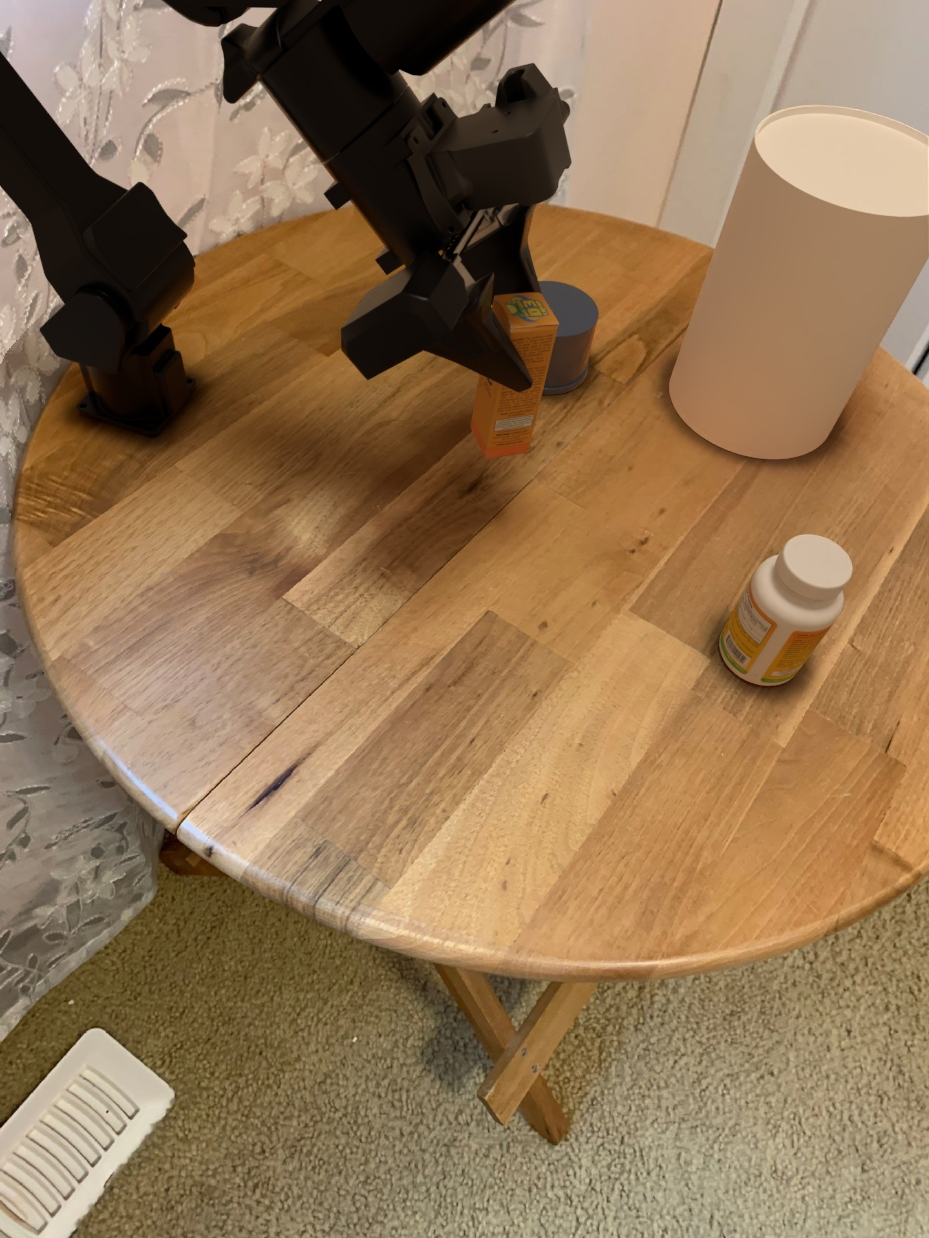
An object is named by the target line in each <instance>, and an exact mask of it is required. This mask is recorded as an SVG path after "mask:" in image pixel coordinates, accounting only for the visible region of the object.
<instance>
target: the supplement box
mask: <svg viewBox="0 0 929 1238" xmlns="http://www.w3.org/2000/svg"><path fill="white" fill-rule="evenodd" d="M491 307H492V310H493V312H494V313H495V315H496V317H497V318H498V320H499V322H500V323H501V325H502V327H503V328H504V330H505V332H506V333H507V335H508V336H509V338H510V340H511V341H512V343H513V345H514V346H515V348H516V350H517V351H518V353H519V355H520V356H521V358H522V360H523V362H524V363H525V365H526V367H527V369H528V371H529V373H530V375H531V377H532V379H533V385H532V387H531V388H529V389H527V390H525V391H523V392H516V391H514V390H512V389H510V388H508V387H505V386H503V385H501V384H499V383H497V382H495V381H493V380H491V379H489V378H487V377H485V376H483V375H481V374H479V376H478V379H477V386H476V392H475V397H474V403H473V410H472V414H471V420H470V430H471V431H472V433H473V435H474V438H475V440H476V442H477V444H478V446H479V448H480V451H481V453H482V455H483V457H484V458H485V460H491V459H498V458H505V457H510V456H511V457H512V456H517V455H523V454H527V453H529V451H530V446H531V441H532V438H533V433H534V429H535V425H536V421H537V418H538V417H537V416H538V414H539V409H540V404H541V400H542V396H543V394H542V392H543V388H544V384H545V380H546V376H547V372H548V368H549V363H550V358H551V354H552V350H553V346H554V342H555V338H556V333H557V329H558V326H559V322H558V320H557V319H556V317H555V315H554V314H553V312H552V310H551V309H550V307H549V305H548V304H547V302H546V301H545V299H544V297H543V295H542V294H541V293H531V292H530V293H514V294H503V295H495V296H494V299H493V304H492V305H491Z"/></svg>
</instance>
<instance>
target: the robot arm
mask: <svg viewBox="0 0 929 1238" xmlns="http://www.w3.org/2000/svg"><path fill="white" fill-rule="evenodd" d="M161 2H163V4H165V5H167V6H168V7H169V8H171V9H172V10H173V11H175V13H177V14H178V15H180V16H182V17H183V18H184V19H186V20H188V21H189V22H192V23H195V24H197V25H200V26H203V27H208V28H219V27H221V26H222V25H227V24H228V23H229V24H230V23H231V22H233V21H235V20H237V19H239V18H241V17H242V16H243V15H245V14H246V13H247V12H248V11H250V10H251V9H254V8H255V9H274V11H273V12H272V13H271V14H269V16H268V17H267V18H266V19H264V21H263V22H262V23H261V24H260V25H259V26H254V25H250V24H247V23H244V22H241V23H239V24H237V26H235V27H234V28H232V30H230V31H229V32H228V33H227V34H225V35H224V36H223V37H222V38H221V39H220V47H221V51H222V55H223V72H222V97H223V99H224V100H225V102H227V103H228V104H231V105H234V104H237V103H238V102H239V101H240V100H241V99H242V98H243V97H244V96H245V95H247V93H249V92H250V91H251V90H252V89H253V88H254V87H255V86H256V85H258V83H259V84H260V85H261V86H262V88H263V89H264V91H265V92H266V93H267V95H268V96H269V97H270V98H271V99H272V101H273V102H274V103H275V105H276V106H277V108H278V109H279V110H280V111H281V113H282V114H283V115H284V116H285V118H286V119H287V120H288V122H289V123H290V124H291V126H292V127H293V128H294V129H295V131H296V132H297V134H298V135H299V136H300V137H301V139H302V140H303V141H304V143H305V144H306V145H307V147H308V148H309V149H310V151H312V153H313V154H314V155H315V157H316V158H317V160H318V161H319V162H320V163H321V164H322V166H323V168H324V169H325V170H326V171H327V173H328V174H329V175H330V177H331V178H332V179H333V182H332V183H331V184H330V185H329V186H328V187H327V189H326V190H325V191H324V192H323V196H324V197H325V198H326V200H327V201H328V202H329V204H330V205H331V206H332V207H333V209H334V210H335V211H338V210H339V209H341V208H342V207H343V206H345V205H346V204H347V203H349V202H350V203H351V204H352V205H353V207H354V208H355V209H356V211H357V212H358V213H359V214H360V216H361V217H362V218H363V219H364V221H365V223H366V224H367V225H368V226H369V227H370V229H371V230H372V231H373V233H374V234H375V235H376V236H377V238H378V239H379V241H380V242H381V243H382V245H383V248H382V249H381V251H380V253H378V255H377V256H376V258H375V259H374V261H375V262H376V264H377V265H378V266H379V268H380V269H381V270H382V271H383V273H384V274H385V275H386V276H389V274H392V273H393V272H395V271H396V270H398V269H399V268H401V267H403V266H404V268H402V269H400V270H399V271H398V272H396V273H394V274H393V275H391V276H390V277H388V278H387V279H384V280H383V281H382V282H380V283H379V284H377V285H376V286H374V287H372V288H370V289H369V290H368V291H366V292H365V293H364V295H363V296H362V298H361V299H360V301H359V302H358V304H357V305H356V307H355V308H354V309H353V311H352V313H351V314H350V315H349V317H348V318H347V319H346V321H345V322H344V323H343V325H342V326H341V328H340V351H341V353H343V354H344V356H345V357H346V358H347V359H348V360H349V361H350V363H351V364H352V365H353V366H354V367H355V368H356V369H357V370H358V372H359V373H360V374H361V375H362V376H363V378H365V380H366V381H370V380H371V379H373V378H375V377H377V376H379V375H381V374H382V373H384V372H386V371H388V370H390V369H392V368H394V367H396V366H397V365H399V364H401V363H403V362H405V361H407V360H409V359H411V358H412V357H415V356H416V355H418V354H420V353H422V352H426V353H429V354H432V355H434V356H437V357H439V358H443V359H445V360H448V361H450V362H452V363H455V364H457V365H460V366H462V367H464V368H466V369H467V370H470V371H472V372H474V373H476V374H479V375H480V374H481V375H483V376H485V377H487V378H489V379H491V380H493V381H495V382H497V383H499V384H501V385H503V386H505V387H508V388H510V389H512V390H514V391H516V392H523V391H525V390H527V389H529V388H531V387H532V385H533V379H532V377H531V375H530V373H529V371H528V369H527V367H526V365H525V363H524V362H523V360H522V358H521V356H520V355H519V353H518V351H517V350H516V348H515V346H514V345H513V343H512V341H511V340H510V338H509V336H508V335H507V333H506V332H505V330H504V328H503V327H502V325H501V323H500V322H499V320H498V318H497V317H496V315H495V313H494V312H493V310H492V304H493V299H494V296H495V295H503V294H514V293H530V292H531V293H541V294H542V292H541V288H540V285H539V282H538V281H539V280H538V276H537V272H536V268H535V265H534V261H533V258H532V254H531V249H530V247H529V234H530V230H531V226H532V221H533V216H534V212H535V209H536V207H537V205H539V204H541V203H543V202H546V201H548V200H549V199H551V198H552V197H553V196H554V195H555V194H556V193H557V192H558V189H559V184H560V183H559V182H560V180H561V178H562V176H563V174H564V172H565V170H568V169H569V168H570V167H571V166H572V158H571V157H572V156H571V153H570V152H571V151H570V148H569V144H568V139H567V135H566V130H565V123H567V120H568V119H569V117H570V115H571V107H570V104H569V103H568V102H567V101H565V100H563V99H561V96H560V92H559V88H558V87H557V86H556V87H553V86H552V85H551V83H550V82H549V81H548V79H547V78H546V77H545V76H544V74H543V72H541V70H540V69H539V67H538V66H537V65H536V63H534V62H530V63H526V64H522V65H518V66H514V67H511V68H509V69H508V70H507V71H506V72H505V74H504V75H503V76H502V77H501V79H500V81H499V82H498V83H497V88H496V95H495V99H494V100H495V101H494V106H492V104H491V102H487V103H483V104H482V105H481V107H480V109H479V110H478V111H477V112H474V113H471V114H467V115H463V116H460V117H459V116H458V115H457V114H456V113H455V112H454V110H453V109H452V108H451V106H450V104H449V103H448V102H447V100H446V99H445V98H444V97H443V96H439V97H438V95H437V94H436V93H435V92H432V93H430V94H429V95H428V96H427V97H425V98H424V99H423V100H422V101H420V100H419V98H418V96H417V94H415V92H414V90H413V89H412V88H411V86H410V85H409V84H408V81H407V80H406V79H405V78H404V76H403V74H402V73H401V72H403V73H406V74H407V75H411V76H418V77H422V76H424V75H427V74H429V73H430V72H431V71H432V70H434V69H435V68H437V67H438V66H439V65H440V64H441V63H443V62H444V61H445V60H446V59H448V58H449V57H450V56H451V55H453V53H455V51H457V50H458V49H459V48H460V47H462V46H463V45H464V44H466V43H467V42H468V41H469V40H471V39H472V37H474V36H476V34H478V33H479V32H480V31H481V30H483V29H484V28H485V27H486V26H487V25H489V24H490V23H491V22H492V21H493V20H495V18H497V17H498V16H500V15H501V14H502V13H503V12H504V11H506V10H507V9H509V7H511V6H512V5H513V4H514V3H515V2H517V0H161ZM0 188H1V189H2V191H4V193H5V194H6V195H7V196H8V197H9V198H10V200H11V201H12V202H13V204H15V205H16V206H17V208H18V209H19V210H20V211H21V213H22V214H23V215H24V216H25V218H26V219H27V220H28V222H29V223H30V225H31V230H32V232H33V236H34V237H33V238H34V241H35V245H36V248H37V252H38V257H39V261H40V263H41V267H42V272H43V275H44V277H45V279H46V280H47V282H48V283H49V284H50V286H51V288H52V289H53V290H54V292H55V293H56V294H57V296H58V297H59V298H60V299H61V302H62V303H63V305H62V306H61V307H60V308H59V309H58V310H57V311H56V312H55V313H53V315H52V316H50V318H49V319H48V320H47V321H45V323H44V324H43V325H41V326H40V327H39V332H40V334H41V336H42V337H43V338H44V340H45V341H46V343H47V345H48V346H49V347H50V349H51V350H52V352H53V353H54V355H55V356H56V357H58V358H60V359H64V360H67V361H71V362H73V363H77V364H78V367H79V369H80V373H81V375H82V378H83V379H82V380H83V382H84V385H85V387H86V391H87V393H86V394H85V395H84V396H83V397H82V398H81V400H79V402H78V403H77V404H76V405H75V406H76V407H75V408H76V410H77V413H78V414H79V415H82V416H85V417H88V418H91V419H94V420H98V421H100V422H103V423H106V424H110V425H113V426H116V427H119V428H122V429H126V430H129V431H131V432H135V433H138V434H141V435H145V436H147V437H155V436H157V435H159V434H160V433H161V432H162V430H163V429H164V428H165V426H166V425H167V424H168V423H169V422H170V420H171V419H172V418H173V417H174V416H176V414H177V413H178V411H180V408H182V406H183V405H184V404H185V402H186V401H187V400H188V399H189V397H191V394H192V393H193V392H194V390H196V388H197V380H196V378H195V377H191V376H189V375H186V369H185V365H184V361H183V356H182V353H181V351H180V350H177V348H176V343H175V340H174V335H173V330H172V328H171V327H170V326H166V325H164V324H163V322H164V321H165V320H166V318H167V317H168V316H169V315H170V314H171V313H172V312H173V311H174V310H176V309H178V307H180V304H181V302H182V301H183V299H185V298H186V296H187V295H188V294H189V293H190V292H191V291H192V289H193V286H194V283H195V268H196V265H197V264H196V261H195V259H194V256H193V254H192V252H191V250H190V249H189V247H188V245H187V244H186V242H185V240H186V239H187V238H188V233H187V232H186V231H185V230H184V229H182V228H181V227H180V226H179V225H177V224H176V222H175V221H174V220H173V219H172V218H171V217H170V216H169V215H168V213H167V212H166V210H165V208H164V207H163V206H162V204H161V202H160V200H159V199H158V197H157V195H156V193H155V192H154V190H153V189H151V188H150V187H149V186H148V185H147V184H145V183H144V182H143V181H137V182H136V183H135V184H134V185H133V186H132V187H131V188H129V189H127V188H125V187H123V186H122V185H119V184H117V183H115V182H114V181H112V180H110V179H108V178H106V177H105V176H102V175H100V174H99V173H97V172H96V171H95V170H94V169H93V168H92V167H91V166H90V164H89V163H88V162H87V161H86V159H85V157H84V156H83V155H82V154H81V153H80V152H79V150H78V149H77V147H76V146H75V145H74V143H72V141H71V139H69V137H68V136H67V134H66V133H65V132H64V131H63V130H62V128H61V127H60V125H59V124H58V123H57V122H56V120H55V119H54V118H53V117H52V115H51V114H50V113H49V112H48V111H47V109H46V108H45V107H44V105H43V104H42V102H41V101H40V100H39V99H38V97H37V96H36V95H35V94H34V92H33V91H32V90H31V88H30V87H29V86H28V84H27V83H26V81H25V80H24V79H23V78H22V77H21V75H20V74H19V73H18V72H17V70H16V69H15V67H14V66H13V65H12V64H11V63H10V61H9V60H8V58H7V57H6V56H5V55H4V53H3V52H2V51H1V50H0ZM440 252H442V253H440Z"/></svg>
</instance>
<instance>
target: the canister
mask: <svg viewBox="0 0 929 1238" xmlns="http://www.w3.org/2000/svg"><path fill="white" fill-rule="evenodd" d="M736 183H737V184H736V186H735V189H734V192H733V194H732V198H731V201H730V204H729V206H728V209H727V212H726V215H725V219H724V221H723V225H722V226H721V227H722V228H721V230H720V232H719V237H718V239H717V241H716V243H715V244H716V245H715V248H714V250H713V253H712V256H711V259H710V262H709V264H708V267H707V271H706V274H705V276H704V279H703V282H702V285H701V288H700V291H699V294H698V296H697V300H696V302H695V306H694V309H693V311H692V314H691V317H690V320H689V323H688V326H687V329H686V331H685V334H684V337H683V340H682V343H681V346H680V348H679V352H678V355H677V357H676V360H675V364H674V366H673V369H672V372H671V375H670V377H669V382H668V392H669V397H670V401H671V403H672V406H673V408H674V410H675V412H676V413H677V414H678V416H679V417H680V419H681V420H682V421H683V422H684V423H685V424H686V425H687V426H688V427H689V428H690V429H691V430H692V431H693V432H695V434H697V435H698V436H700V437H701V438H703V439H705V440H706V441H708V442H709V443H710V444H713V445H714V446H717V447H719V448H721V449H723V450H726V451H729V452H731V453H734V454H737V455H740V456H743V457H748V458H753V459H760V460H787V459H792V458H793V459H794V458H797V457H802V456H805V455H807V454H809V453H811V452H813V451H815V450H816V449H818V448H819V447H820V446H821V445H822V444H824V443H825V441H826V440H827V439H828V437H829V435H830V434H831V432H832V430H833V428H834V426H835V425H836V423H837V421H838V419H839V418H840V416H841V414H842V413H843V410H844V409H845V407H846V406H847V404H848V402H849V400H850V398H851V397H852V394H853V393H854V391H855V389H856V387H857V385H858V384H859V383H860V380H861V379H862V377H863V375H864V373H865V372H866V370H867V368H868V366H869V364H870V363H871V361H872V359H873V357H874V356H875V354H876V352H877V351H878V349H879V347H880V345H881V343H882V342H883V340H884V338H885V336H886V334H887V333H888V331H889V329H890V327H891V325H892V324H893V322H894V320H895V318H896V317H897V315H898V313H899V312H900V310H901V308H902V306H903V305H904V303H905V300H906V299H907V297H908V295H909V294H910V292H911V290H912V288H913V287H914V285H915V283H916V282H917V279H918V277H919V276H920V274H921V272H922V271H923V269H924V267H925V266H926V264H927V261H928V260H929V135H927V134H926V133H924V132H922V131H921V130H919V129H917V128H915V127H912V126H910V125H908V124H906V123H904V122H901V121H899V120H897V119H894V118H891V117H887V116H885V115H882V114H878V113H875V112H871V111H867V110H863V109H857V108H855V107H854V108H853V107H849V106H848V107H847V106H840V105H831V104H805V105H796V106H790V107H785V108H783V109H779V110H776V111H774V112H773V113H770V114H769V115H767V116H766V117H765V118H763V119H762V120H761V121H760V122H759V123H758V125H757V126H756V129H755V131H754V134H753V137H752V140H751V142H750V145H749V149H748V152H747V154H746V158H745V161H744V162H743V166H742V169H741V171H740V175H739V178H738V181H737V182H736Z"/></svg>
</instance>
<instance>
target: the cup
mask: <svg viewBox="0 0 929 1238" xmlns="http://www.w3.org/2000/svg"><path fill="white" fill-rule="evenodd" d="M538 282H539V285H540V288H541V292H542V295H543V297H544V299H545V301H546V302H547V304H548V305H549V307H550V309H551V310H552V312H553V314H554V315H555V317H556V319H557V320H558V322H559V326H558V329H557V333H556V338H555V342H554V346H553V350H552V354H551V358H550V363H549V368H548V372H547V376H546V380H545V384H544V388H543V392H542V396H543V395H545V396H557V395H563V394H566V393H570V392H572V391H574V390H576V389H578V388H579V387H580V386H581V385H582V384H583V383H584V382H585V380H586V379H587V377H588V376H587V375H588V371H589V368H590V367H589V366H590V364H589V359H590V354H591V350H592V345H593V341H594V337H595V333H596V329H597V326H598V321H599V317H600V311H599V308H598V305H597V303H596V301H595V300H594V299H593V297H591V295H589V294H588V293H587V292H585V291H584V290H582V289H581V288H578V287H577V286H575V285H572V284H569V283H565V282H563V281H556V280H538Z"/></svg>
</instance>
